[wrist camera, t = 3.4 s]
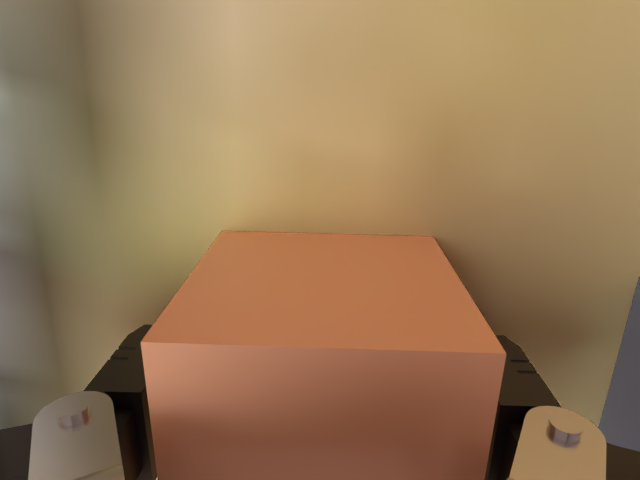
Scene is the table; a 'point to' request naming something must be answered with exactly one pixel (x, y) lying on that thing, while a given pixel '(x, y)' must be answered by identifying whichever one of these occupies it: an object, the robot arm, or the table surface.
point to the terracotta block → (322, 363)
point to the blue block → (625, 387)
